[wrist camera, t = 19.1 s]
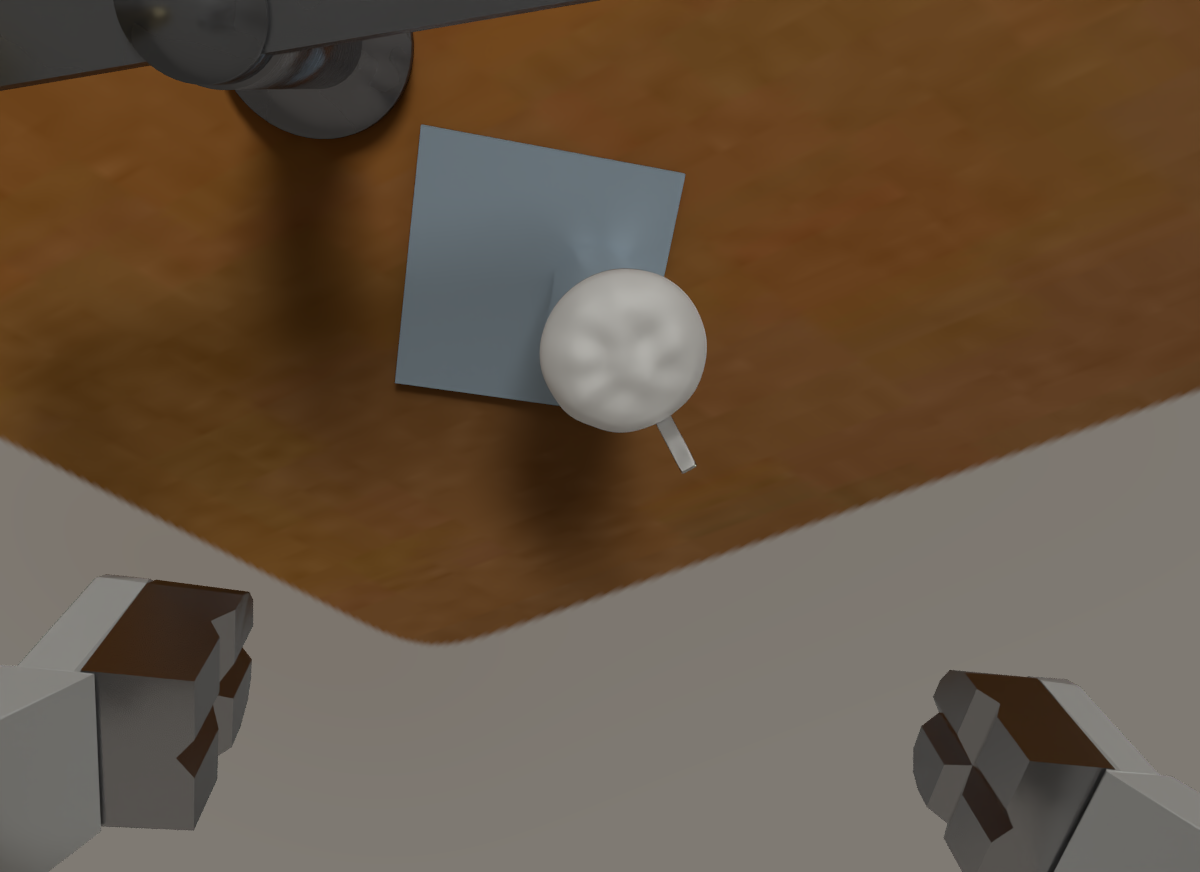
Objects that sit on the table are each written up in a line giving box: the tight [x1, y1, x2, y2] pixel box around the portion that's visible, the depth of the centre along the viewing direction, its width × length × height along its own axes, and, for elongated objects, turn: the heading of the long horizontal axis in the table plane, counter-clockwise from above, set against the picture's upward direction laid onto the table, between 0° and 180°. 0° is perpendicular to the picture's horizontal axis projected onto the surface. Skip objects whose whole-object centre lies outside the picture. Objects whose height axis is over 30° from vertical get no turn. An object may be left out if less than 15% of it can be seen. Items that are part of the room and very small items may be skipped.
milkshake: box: [540, 243, 707, 473], centre depth 26 cm, size 4×5×10 cm
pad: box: [395, 125, 685, 406], centre depth 31 cm, size 9×9×1 cm
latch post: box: [197, 32, 414, 139], centre depth 22 cm, size 6×6×10 cm
